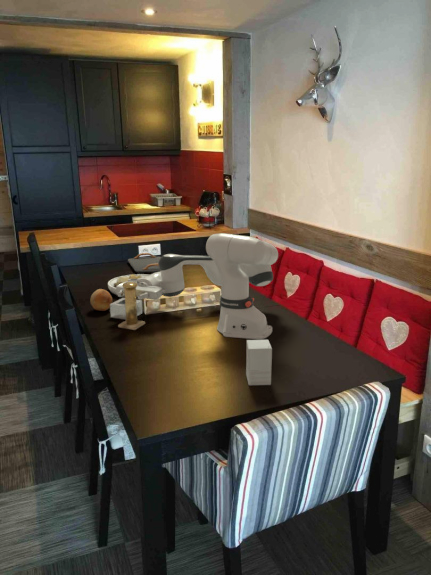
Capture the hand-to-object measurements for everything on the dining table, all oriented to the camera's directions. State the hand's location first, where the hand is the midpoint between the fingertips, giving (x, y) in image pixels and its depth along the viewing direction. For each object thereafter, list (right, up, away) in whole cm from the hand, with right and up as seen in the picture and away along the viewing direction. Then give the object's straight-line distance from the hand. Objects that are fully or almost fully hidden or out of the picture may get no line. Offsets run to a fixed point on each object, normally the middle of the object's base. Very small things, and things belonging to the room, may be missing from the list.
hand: (129, 296), depth 198 cm
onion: (-17, -7, +23) cm, 29 cm away
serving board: (-5, +16, +101) cm, 103 cm away
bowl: (-5, +2, +54) cm, 54 cm away
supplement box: (+49, -26, -43) cm, 70 cm away
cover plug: (0, -11, +4) cm, 12 cm away
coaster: (0, -12, +4) cm, 13 cm away
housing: (-4, -9, +17) cm, 19 cm away
